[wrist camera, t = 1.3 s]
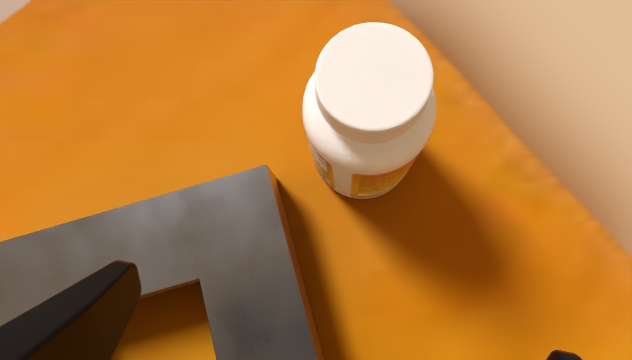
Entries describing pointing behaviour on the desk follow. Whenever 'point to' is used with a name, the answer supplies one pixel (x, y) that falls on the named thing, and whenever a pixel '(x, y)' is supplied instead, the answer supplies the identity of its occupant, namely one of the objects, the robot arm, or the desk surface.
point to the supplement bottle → (369, 108)
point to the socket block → (185, 262)
